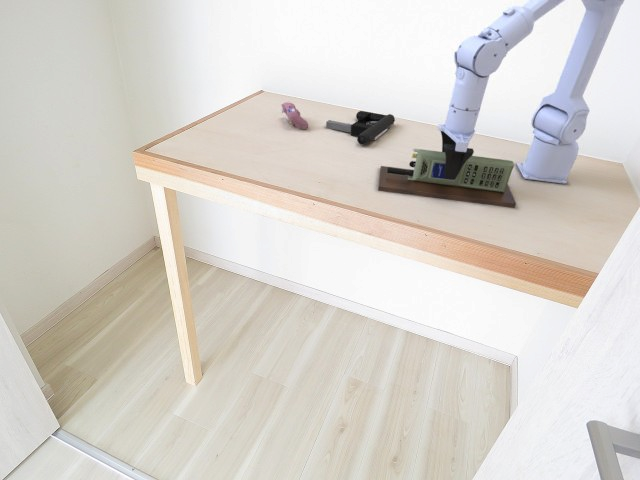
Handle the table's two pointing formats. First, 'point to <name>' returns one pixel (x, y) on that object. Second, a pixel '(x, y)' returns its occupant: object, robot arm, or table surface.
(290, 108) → the pink rounded piece
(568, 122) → the robot arm
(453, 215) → the table surface
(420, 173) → the handheld radio
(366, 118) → the door handle
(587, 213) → the table surface
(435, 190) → the walnut board
